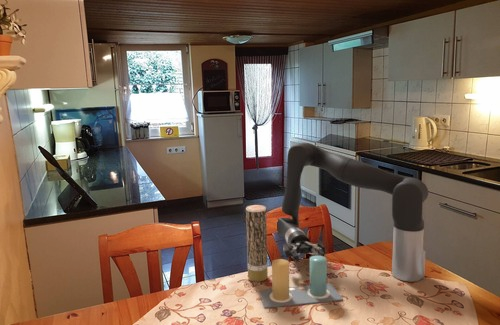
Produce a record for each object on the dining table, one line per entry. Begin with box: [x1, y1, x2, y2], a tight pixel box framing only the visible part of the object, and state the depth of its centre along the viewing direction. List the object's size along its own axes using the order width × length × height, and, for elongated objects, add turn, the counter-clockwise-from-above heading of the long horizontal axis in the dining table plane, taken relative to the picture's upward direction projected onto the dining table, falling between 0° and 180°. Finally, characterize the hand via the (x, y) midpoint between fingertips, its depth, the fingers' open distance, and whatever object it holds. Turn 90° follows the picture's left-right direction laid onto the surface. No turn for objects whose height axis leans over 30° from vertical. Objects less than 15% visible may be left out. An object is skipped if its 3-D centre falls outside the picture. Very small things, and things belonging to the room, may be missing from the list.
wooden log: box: [245, 204, 269, 283], centre depth 123 cm, size 7×7×25 cm
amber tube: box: [271, 258, 290, 301], centre depth 111 cm, size 5×5×11 cm
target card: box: [258, 282, 344, 309], centre depth 112 cm, size 24×10×1 cm, turn 98°
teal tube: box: [309, 255, 328, 297], centre depth 112 cm, size 5×5×11 cm
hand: (310, 257), depth 120 cm, fingers open, 8 cm apart
